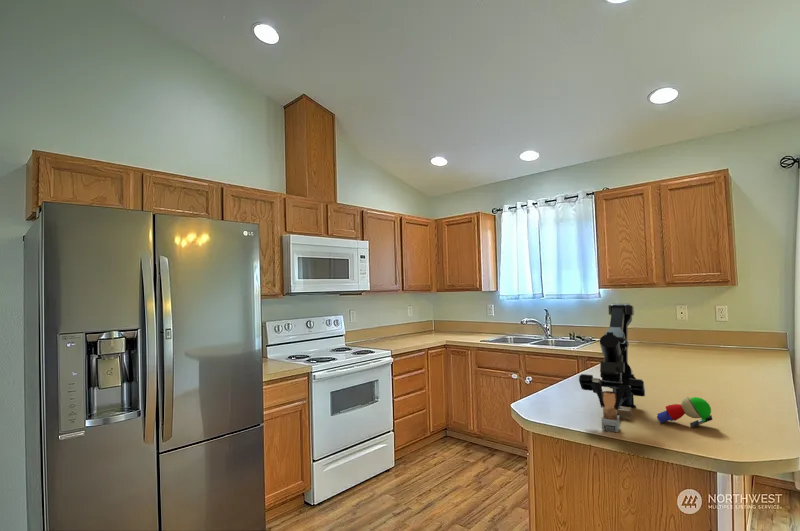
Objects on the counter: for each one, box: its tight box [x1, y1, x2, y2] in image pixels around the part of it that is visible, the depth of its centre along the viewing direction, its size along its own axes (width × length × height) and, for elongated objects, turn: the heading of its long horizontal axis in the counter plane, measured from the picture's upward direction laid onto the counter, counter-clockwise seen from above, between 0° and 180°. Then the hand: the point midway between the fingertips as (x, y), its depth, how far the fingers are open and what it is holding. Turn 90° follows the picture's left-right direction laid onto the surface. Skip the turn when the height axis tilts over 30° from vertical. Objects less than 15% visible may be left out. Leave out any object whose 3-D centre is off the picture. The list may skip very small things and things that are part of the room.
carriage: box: [601, 390, 621, 433], centre depth 132 cm, size 5×4×11 cm
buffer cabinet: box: [617, 406, 633, 421], centre depth 145 cm, size 5×8×3 cm, turn 56°
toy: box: [656, 396, 713, 429], centre depth 135 cm, size 8×8×15 cm
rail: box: [605, 414, 622, 433], centre depth 136 cm, size 15×2×2 cm, turn 146°
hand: (609, 407), depth 131 cm, fingers closed on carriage, 4 cm apart
